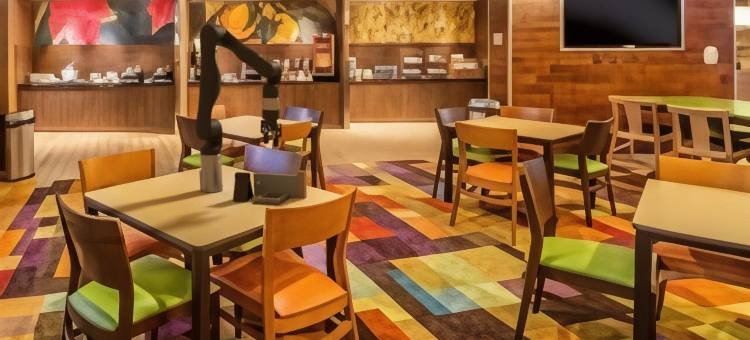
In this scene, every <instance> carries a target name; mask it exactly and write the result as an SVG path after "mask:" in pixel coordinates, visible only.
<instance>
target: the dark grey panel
mask: <svg viewBox="0 0 750 340" xmlns="http://www.w3.org/2000/svg"><path fill="white" fill-rule="evenodd" d="M307 191H308V190H307V170H298V171H297V173H296V174H288V173H287V174H285V173H283V174H282V173H270V172H269V173H268V172H267V173H266V172H254V173H253V195H254V196H257V197H259V196H261V195H263V194H264V193H266V192H270V195H277V196H282V195H284V194H285V193H289V196H291V198H290V199H292V198H293V199H301V200H302V199H303V200H305V199H306V198H307V196H308V195H307V194H308V193H307Z"/></svg>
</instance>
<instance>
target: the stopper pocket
mask: <svg viewBox="0 0 750 340" xmlns="http://www.w3.org/2000/svg"><path fill="white" fill-rule="evenodd" d="M290 199H292V198H291V196H289V193H285V194H284V195H282V196H277V195H270V192H266V193H264V194H263V195H261V196H257V197H256V200H254V201H253V202H252V205H264V204H265V205H266V206H280V205H282V204H283V203H286V201H288V200H290ZM265 205H264V206H265Z"/></svg>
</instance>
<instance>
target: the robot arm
mask: <svg viewBox="0 0 750 340" xmlns="http://www.w3.org/2000/svg"><path fill="white" fill-rule="evenodd" d="M220 46H221V47H222V48H225V49H227V50H229V51H230V52H231V53H233V54H234V55H235V57H236V58H237V59H238V60H239V61H240V62H242V63H244V64H245V65H247V66H248V67H250V68H252V69H253V70H254V72H256V73H257V74H258V75H259V76H261V77H262V78H265V79H266V83H264V85H262V98H261V99H262V101H261V119H260V134H262V136H263V144H264V145H266V144H270V143H269V142H270V141H269V140H270V138H269V137H270V136H269V134H271V135H272V137H273V141H272V142H273V144H272V146H273V147H274V148H278V147H279V138H282V137H283V135H282V133H283V131H282V123H280V122H279V123H278V120H280V118H281V117H280V116H281V114H280V113H281V112H280V111H281V110H280V107H281V106H280V105H281V103H280V87H281V86H280V85H281V81H282V76H283V68H282V65H281V64H280V62H278V61H276V60H274V61H273V60H270V61H268V60H266V59H264V56H263V54H261V53H260V52H258V51H257V50H255V49H253V48H252V47H250V46H248V45H247V44H245V43H244V42H242V41H241V40H239V39H238V38H237V37H236V36H235V35H234V34H232V33H231V32H230V31H229V30H227V28H225V27H224V26H223V25H222V24H221V25H220V24H216V23H215V24H212V23H211V24H209V23H208V24H203V26H202V27H201V28H200V32H199V47H200V48H199V49H200V64H199V65H200V68H199V69H200V71H199V72H200V74H199V85H198V86H199V89H198V93H199V94H198V107H197V113H196V114H197V115H196V119H195V125H194V126H195V128H194V129H195V134H196V135H195V136H197V138H198V139H199V140H200V141H205V143H204V144H203V146H201V147H200V149H199V152H200V153H199V154H200V170H199V187H200V188H199V191H200V192H203V193H219V192H221V191H223V187H224V186H223V168H222V148H223V142H224V141H223V139H224V138H223V136H224V135H223V133H224V132H223V126H222V123H221V122H220V120H219V119H217V118H213V117H212V114H213V113H212V112H213V109H214V107H215V104H216V102H217V101H218V98H219V97H220V93H221V85H222V76H221V75H222V74H221V72H220V71H221V70H220V69H219V66H218V62H217V59H216V48H217V47H220Z"/></svg>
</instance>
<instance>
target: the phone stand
mask: <svg viewBox="0 0 750 340" xmlns="http://www.w3.org/2000/svg"><path fill="white" fill-rule="evenodd" d="M233 186H234V187H233V195H232V196H233V197H232V202H237V203H247V202H249V201H250V199H251V200H252V199H254V198H255V195H254V189H253V185H252V179H251V173H250V172H240V171H239V172H238V171H237V172H235V174H234V185H233Z"/></svg>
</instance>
